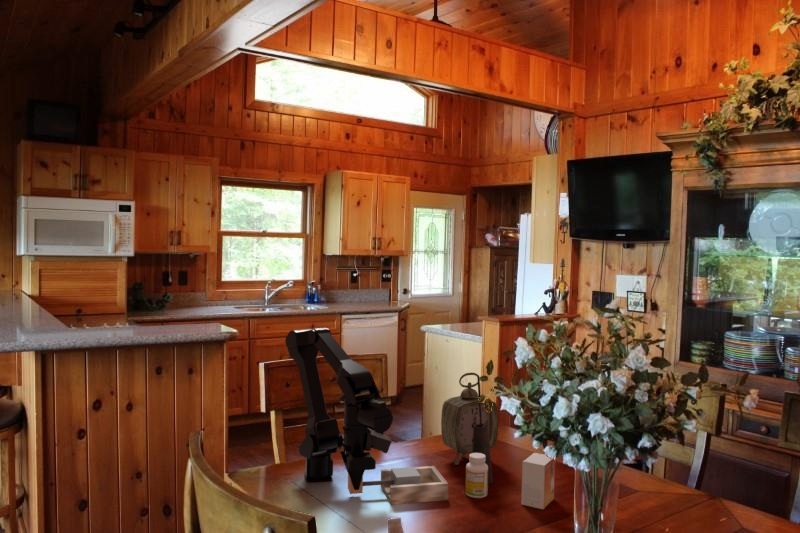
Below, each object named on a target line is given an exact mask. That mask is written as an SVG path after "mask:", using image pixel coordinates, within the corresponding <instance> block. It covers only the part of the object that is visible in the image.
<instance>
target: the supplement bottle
mask: <svg viewBox="0 0 800 533" xmlns="http://www.w3.org/2000/svg"><path fill="white" fill-rule="evenodd" d="M468 457H469V458H468V459H469V460H468V461H469V462H468V463H466V465H465V494H466V495H467V496H468V497H469V498H474V499H483V498H485V497H487V496H488V494H489V492H488V488H489V485H488V466H487V464H486V463H485V461H486V456H485V455H484V454H482V453H469V456H468Z"/></svg>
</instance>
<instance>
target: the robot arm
mask: <svg viewBox="0 0 800 533" xmlns="http://www.w3.org/2000/svg"><path fill="white" fill-rule="evenodd" d="M284 340H285V341H284V342H285V346H286V348H287V351H288V356H290V357H291V359H292V360H293V361H294V362H295V364H297V368H298V375H299V377H300V382H301V387H302V393H303V397H304V402H305V407H306V411H307V418H308V419H307V423H306V426H305V429H304V434H305V435H304V436H305V437H304V439H303V441H302V442H301V443H300V444H299V446H298V451H299V455H300V456H301V457H304V458H305V471H304V477H305V482H306V483H315V482H327V481H329V482H331V481H332V480H333V478H332V477H333V475H334V460H333V457H332V454H337V453H338V449H339V450H341V449H342V448H343V450H342V451H340V455H341V456H340V457H341V459H342V462H343V464H344V466H345V470H346V471H347V474H348V473H349V476H350V479H351V482H352V484H353V487H354V490H359V488H360V484H361V481H362V477H363V476H364V473H365V471H366V470H367V471H370V470H375V469H376V463H377V462H376V459H375V457H374V455H373V454H372V453H370V452H371V451H372V449H374V450H377V451H381V452H382V453H384V454H388V452H389V450H390V447H391V444H392V439H391V437H390V436H389V435H387V434H386V432H387V431H388V430H389V429H390V428H391V426H392V424H393V420H394V415H393V413H392V411H391V410H390V409H389V407H387V402H385V401H382V400H381V399H382V397H381V394H380V390H379V388H378V387H377V384H376V382H375V380H374V377H373V374H372V373H371V371H370V370H369V369H367V368H366V366H364V365H363V364H361V363H358V362H356V361H354V360H353V359H352V358H351V357H350V355H348V353H347V352H346V350H344V348H342V346H341V345H340V344H339V343H338V341H337V340H336V339H335V337H334V336H333V334H332V332H331V330H330V329H329V328H327V327H315V328H304V329H293V330H290V331H289V332H288V334H287V335H286V336H285V339H284ZM319 353H320V354H321V356H322V357H323V358H324V360H325V361H326V362H327V363H328V365H329V366H330V367H331V369H333V371H334V372H335V375H336V383H337V385H338V387H339V389H340V390H341V392H342V394H343V395H342V396H340V397H339V401H340V402H342V403H344V407H343V408H344V412H343V424H342V430H343V434H341V431H340V429H339V424H338V420H337V419H336V418H334V417H333V418H332V417H331V416H330V415H329V414H328V410H327V406H326V405H327V404H326V400H325V395H324V391H323V386H322V382H321V377H320V373H319V369H318V363H317V358H318V356H319ZM380 400H381V401H380ZM363 478H364V477H363Z"/></svg>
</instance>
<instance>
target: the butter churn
mask: <svg viewBox="0 0 800 533" xmlns="http://www.w3.org/2000/svg"><path fill="white" fill-rule="evenodd" d="M476 377H477V378H476V379H477V382H478V385H477V393H478V398H479V397H480V396H481V378H480V379H479V377H480V375H479V374H478V376H476ZM481 397H482V396H481ZM479 416H480V424H476V425H474V428H473V446H472V447H473V448H472V449H473V453H482V454H484V455H485V456H486V461H485V463H486V464H487V466H488V486H489V485H491V484H493V471H492V469H493V468H492V456H491V455H492V454H491V448H490V442H489V431H488V422H485V423H484V424H482V414H481V403H479Z"/></svg>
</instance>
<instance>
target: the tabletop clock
mask: <svg viewBox="0 0 800 533" xmlns="http://www.w3.org/2000/svg"><path fill="white" fill-rule="evenodd" d="M478 375H479V374H477V373H476V372H466V373H464V374H463V375H461V376H460V377H459V381H458V383H459V386H461V387H462V388H464V389H463V390H462V391H461V392H460V395H459V396H455V397H454V396H453V397H450V398H448V399H446V400H445V401H444V402H443V404H442V408H441V418H440V420H441V421H440V424H441V425H440V426H441V427H440V428H441V439H442V442H443V444H444V445H445V446H446V447H449V449H452V450H454V451H455V452H456V455H455V459H454V460H453V464H454V466H459V464H460V460H459V456H460V457H461V458H463V459H464V458H465V457H466V456H467V454H471V453H473V449H472V448H473V447H472V446H473V428H474V425H476V424H480V416H479V403H478V399H479V398H478V390H476V389H474V387H476V386H478V381H477V382H475V383H474V384H472V382H467V385H465V384H462V380H463V379H464V377H466V376H475V377H477V376H478ZM479 379H480V380H481V377H480V376H479ZM492 403H493V406H492V411H491V412H490V413H489V412H487V411H486V409H485V407H484V403H481V414H482V424H484V423H485V422H488V431H489V442H490V449H492V448H493V447H495V445H496V443H497V438H498V432H499V412H498V406H497V403H496V402H495V401H492Z"/></svg>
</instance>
